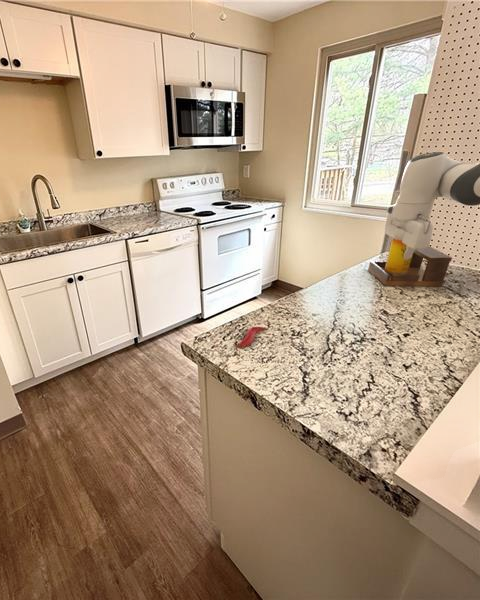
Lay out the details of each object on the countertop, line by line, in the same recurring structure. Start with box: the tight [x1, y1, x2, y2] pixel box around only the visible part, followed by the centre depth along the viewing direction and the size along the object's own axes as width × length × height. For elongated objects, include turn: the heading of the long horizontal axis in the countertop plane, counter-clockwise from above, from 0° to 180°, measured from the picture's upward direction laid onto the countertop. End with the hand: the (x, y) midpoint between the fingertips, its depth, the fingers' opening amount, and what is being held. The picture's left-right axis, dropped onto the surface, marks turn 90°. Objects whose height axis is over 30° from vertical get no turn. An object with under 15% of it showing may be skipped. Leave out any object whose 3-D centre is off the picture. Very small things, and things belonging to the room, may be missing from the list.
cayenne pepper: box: [235, 326, 266, 348], centre depth 79 cm, size 12×5×2 cm, turn 122°
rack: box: [367, 245, 453, 287], centre depth 101 cm, size 15×14×9 cm
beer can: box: [385, 226, 413, 275], centre depth 100 cm, size 6×6×15 cm
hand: (400, 254), depth 100 cm, fingers closed on beer can, 6 cm apart
